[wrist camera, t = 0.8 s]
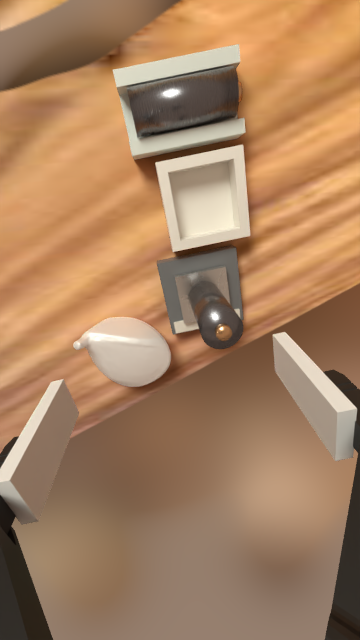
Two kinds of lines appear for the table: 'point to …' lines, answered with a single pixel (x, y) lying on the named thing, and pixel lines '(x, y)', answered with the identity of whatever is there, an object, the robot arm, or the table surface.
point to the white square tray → (204, 197)
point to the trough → (171, 70)
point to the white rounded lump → (127, 350)
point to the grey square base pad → (196, 263)
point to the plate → (192, 278)
